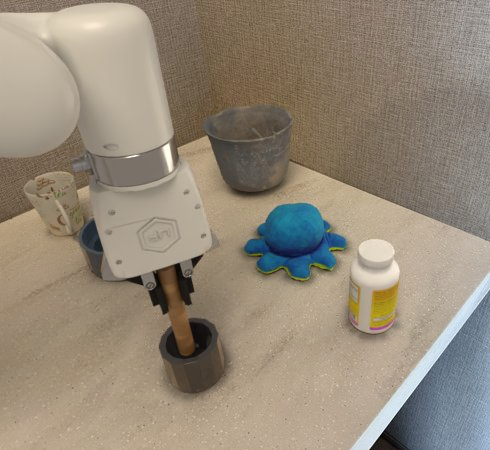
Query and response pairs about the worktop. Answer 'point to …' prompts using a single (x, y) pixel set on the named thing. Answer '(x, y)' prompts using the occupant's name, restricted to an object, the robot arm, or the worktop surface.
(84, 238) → the mixing bowl
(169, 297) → the stick
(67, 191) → the mug
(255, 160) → the grey bucket
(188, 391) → the holder
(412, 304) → the worktop surface
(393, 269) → the supplement bottle
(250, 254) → the plush toy
